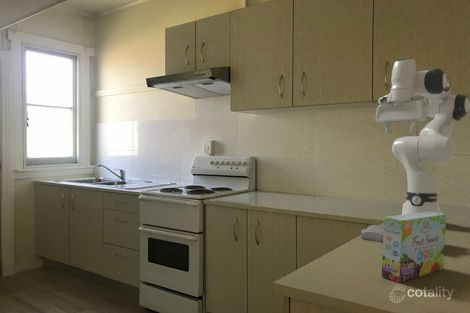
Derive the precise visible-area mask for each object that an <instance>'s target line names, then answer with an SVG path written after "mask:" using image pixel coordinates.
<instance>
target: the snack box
mask: <svg viewBox="0 0 470 313" xmlns="http://www.w3.org/2000/svg"><path fill="white" fill-rule="evenodd" d="M446 222H447V214H446V213H442V212H441V213H436V212H420V213H412V214H404V215H402V214H399V215H398V214H397V215H389V216H384V218H383V226H384V234H383V242H382V256H381V257H382V258H381V259H382V260H381V277H382V278H385V279H387V280H390V281H394V282H397V283H402V282H406V281H409V280H413V279H415V278H419V277H422V276H425V275H429V274H432V273H435V272H438V271H441V270H444V268H445V251H446V250H445V248H446V247H445V246H446V243H445V242H446V229H447V228H446V227H447V226H446V225H447V223H446Z"/></svg>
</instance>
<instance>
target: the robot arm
mask: <svg viewBox="0 0 470 313" xmlns="http://www.w3.org/2000/svg"><path fill="white" fill-rule="evenodd" d="M416 69H417V66H416V60H415V59H414V58H401V59H397V60H396V61H394V63H393V67H392V71H391V79H390V80H391V81H390V82H391V88H390V92H389V93H388V94H386V95H384V96H383V97H379V99H378V101H377V104H379V105H378V106H377V107H376V112H375V121H376V123H378V124H383V127H384V128H385V134H386V135H391V134H392V129H390V127H389V126H390V124H394V123H409V122H410V123H411V125H410V126H409V127H407V133H408V134H413V133H414V132H415V128H416V126H417V125H418V122H423V121H424V122H425V121H426V120H427V119H432V120H430V122H428V123H427V124H426V125H425V126H424V127H423V128H422V129H421V131H420V132H419V135H414V136H413V135H411V136H410V135H409V136H401V137H397V138H396V139H395V140H394V141H393V143H392V146H391V152H392V154H393V156H394V158H396V159H397V160H398V161H399V162H400V163H401V164H402V166H403V168H404V169H405V173H406V176H407V179H406V180H407V191H406V194H405V199H406V201H405V202H404V203H403V204H402V212H401V215H404V214H412V213H420V212H436V213H442V210H441V208H440V206H439V204H438V197H439V196H438V193H436V187H437V186H436V185H437V182H436V181H437V180H436V175H435V174H434V172H432V171H431V170H430V169H427V168H425V166H424V165H423V162H445V161H450V160H451V159H452V158H453V157H454V155H455V154H456V149H457V148H456V144H455V141H454V140H453V138H451V137H450V136H451V135H452V133H453V132H452V131H453V129H454V121H457V122H459V121H460V120H461V119H462V118H464V117H465V116H466V115H467V114H468V113H469V111H470V100H469V98H468V96H467V95H464V94H459V93H458V94H450V93H451V91H452V83H451V79H450V77H448V76H447V74H446V72H445V71H444V70H443V69H441V68H438V67H437V68H433V69H427V70H419V71H416ZM447 223H448V222H447V221H446V224H447Z"/></svg>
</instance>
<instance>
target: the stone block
mask: <svg viewBox="0 0 470 313" xmlns="http://www.w3.org/2000/svg"><path fill="white" fill-rule="evenodd" d="M383 234H384V225H380V224H371V225H369V226H367V228H366V229H365V228H362V229H361V235H360V236H361V239H362V240H363V241H364V240H366V241H371V242H372V241H373V242H377V243H383Z"/></svg>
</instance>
